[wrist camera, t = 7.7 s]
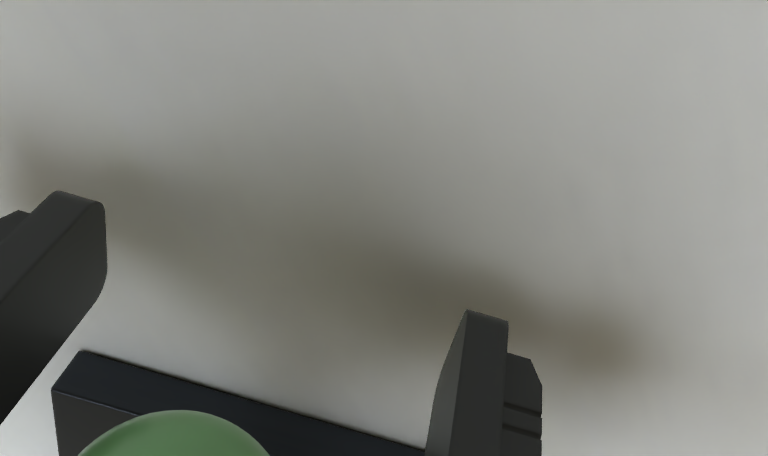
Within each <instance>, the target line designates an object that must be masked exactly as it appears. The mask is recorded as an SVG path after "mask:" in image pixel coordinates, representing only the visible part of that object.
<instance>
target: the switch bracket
mask: <svg viewBox="0 0 768 456" xmlns="http://www.w3.org/2000/svg"><path fill="white" fill-rule="evenodd" d="M51 395H52V403H53V411H54V419H55V427H56V435H57V443H58V451H59V456H78V455H79V454H80V452H81V451H82V450H83V449H85V448H86V447H87V446H88V445H89V444H90V443H92V442H93V441H94V440H95V439H97V438H98V437H99V436H101V435H102V434H104V433H105V432H107V431H109V430H110V429H112V428H113V427H115V426H117V425H119V424H121V423H124V422H126V421H128V420H130V419H133V418H136V417H139V416H142V415H145V414H149V413H154V412H160V411H168V410H189V411H198V412H203V413H207V414H211V415H214V416H217V417H220V418H222V419H225V420H227V421H229V422H231V423H233V424H234V425H236V426H238V427H239V428H241V429H242V430H244V431H245V432H247V433H248V434H249V435H250V436H252V437H253V438H254V439H255V440H256V441H257V442H258V443H259V444H260V445H261V446H262V447H263V448H264V449H265V450H266V452H267V453H268V454H269V456H424V455H425V452H423V451H420V450H417V449H413V448H410V447H406V446H403V445H400V444H396V443H393V442H389V441H386V440H383V439H379V438H376V437H372V436H369V435H365V434H362V433H359V432H355V431H352V430H348V429H345V428H342V427H338V426H335V425H331V424H328V423H325V422H321V421H318V420H314V419H311V418H308V417H304V416H301V415H297V414H294V413H291V412H287V411H284V410H280V409H277V408H274V407H270V406H267V405H263V404H260V403H256V402H253V401H250V400H246V399H243V398H239V397H236V396H233V395H229V394H226V393H222V392H219V391H216V390H212V389H209V388H205V387H202V386H199V385H195V384H192V383H188V382H185V381H182V380H178V379H175V378H171V377H168V376H165V375H161V374H158V373H154V372H151V371H148V370H144V369H141V368H137V367H134V366H130V365H127V364H124V363H120V362H117V361H113V360H110V359H107V358H103V357H100V356H96V355H93V354H90V353H86V352H83V351H79V352H78V353H77V354H76V355H75V357H74V358H73V359H72V361H71V362H70V364H69V365H68V366H67V368H66V369H65V370H64V372H63V373H62V374H61V376H60V377H59V378H58V380H57V381H56V382H55V384H54V385H53V387H52V388H51Z"/></svg>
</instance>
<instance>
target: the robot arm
mask: <svg viewBox="0 0 768 456" xmlns="http://www.w3.org/2000/svg"><path fill="white" fill-rule="evenodd" d="M106 275H107V247H106V224H105V210H104V206H103V205H102V204H101V203H100V202H97V201H93V200H90V199H86V198H83V197H79V196H76V195H72V194H69V193H66V192H62V191H55V192H53V193H52V194H50V195H49V196H48V197H47V198H46V199H45V200H44V201H43V202H42V203H41V204H40V205H39V206H38V207H37V208H36V209H35V210H33V211H32V212H31V213H27V212H23V211H20V210H18V211H16V212H13V213H11V214H9V215H7V216H5V217H2V218H0V425H1V423H2V422H3V421H4V419H5V418H6V417H7V416H8V414H9V413H10V412H11V410H12V409H13V408H14V407H15V405H16V404H17V403H18V401H19V400H20V399H21V397H22V396H23V395H24V394H25V392H26V391H27V390H28V388H29V387H30V386H31V385H32V383H33V382H34V381H35V379H36V378H37V377H38V376H39V374H40V373H41V372H42V370H43V369H44V368H45V366H46V365H47V364H48V363H49V361H50V360H51V359H52V357H53V356H54V355H55V354H56V352H57V351H58V350H59V348H60V347H61V346H62V344H63V343H64V342H65V341H66V339H67V338H68V337H69V335H70V334H71V333H72V332H73V330H74V329H75V328H76V326H77V325H78V324H79V323H80V321H81V320H82V319H83V317H84V316H85V315H86V313H87V312H88V311H89V310H90V308H91V307H92V306H93V304H94V303H95V302H96V300H97V299H98V297H99V295H100V293H101V291H102V289H103V286H104V283H105V279H106ZM507 343H508V321H506V320H503V319H499V318H496V317H492V316H489V315H485V314H482V313H478V312H475V311H471V310H468V309H466V310H465V312H464V314H463V316H462V319H461V321H460V324H459V326H458V329H457V332H456V334H455V337H454V339H453V342H452V344H451V347H450V350H449V352H448V355H447V357H446V360H445V362H444V365H443V368H442V371H441V374H440V377H439V380H438V384H437V388H436V392H435V396H434V402H433V407H432V413H431V419H430V425H429V431H428V437H427V443H426V449H425V455H424V456H541V452H542V440H540V439H541V435H542V418H541V414H542V385H541V382H540V380H539V378H538V376H537V373H536V371H535V369H534V366H533V364H532V362H531V360H530V359H528V358H524V357H521V356H517V355H514V354H510V353H507Z"/></svg>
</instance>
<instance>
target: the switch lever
mask: <svg viewBox="0 0 768 456" xmlns="http://www.w3.org/2000/svg"><path fill="white" fill-rule="evenodd" d="M78 456H269V454H268V453H267V452H266V450H265V449H264V448H263V447H262V446H261V445H260V444H259V443H258V442H257V441H256V440H255V439H254V438H253V437H252V436H250V435H249V434H248V433H247V432H245V431H244V430H242V429H241V428H239V427H238V426H236V425H234V424H233V423H231V422H229V421H227V420H225V419H222V418H220V417H217V416H214V415H211V414H207V413H203V412H198V411H189V410H168V411H160V412H154V413H149V414H145V415H142V416H139V417H136V418H133V419H130V420H128V421H126V422H124V423H121V424H119V425H117V426H115V427H113V428H112V429H110V430H109V431H107V432H105V433H104V434H102V435H101V436H99V437H98V438H97V439H95V440H94V441H93V442H92V443H90V444H89V445H88V446H87V447H86V448H85V449H83V450H82V451H81V452H80V454H79V455H78Z"/></svg>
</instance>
